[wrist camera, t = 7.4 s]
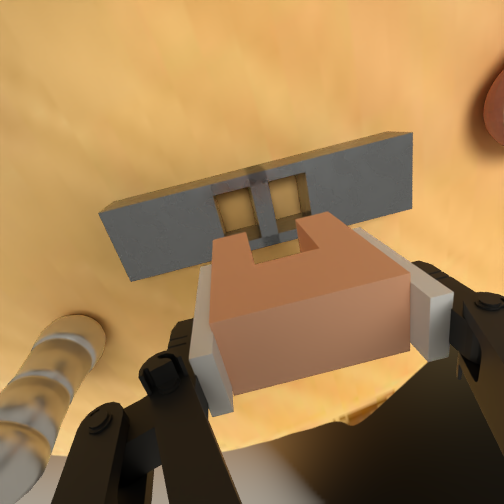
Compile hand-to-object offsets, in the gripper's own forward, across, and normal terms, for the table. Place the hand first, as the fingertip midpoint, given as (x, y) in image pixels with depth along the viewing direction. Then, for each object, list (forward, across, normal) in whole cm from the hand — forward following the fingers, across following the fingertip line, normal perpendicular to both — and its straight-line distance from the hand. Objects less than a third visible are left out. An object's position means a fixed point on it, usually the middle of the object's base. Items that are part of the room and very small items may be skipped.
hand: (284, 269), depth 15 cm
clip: (+3, 0, 0) cm, 3 cm away
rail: (+16, +1, 0) cm, 16 cm away
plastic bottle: (+16, -23, -10) cm, 30 cm away
